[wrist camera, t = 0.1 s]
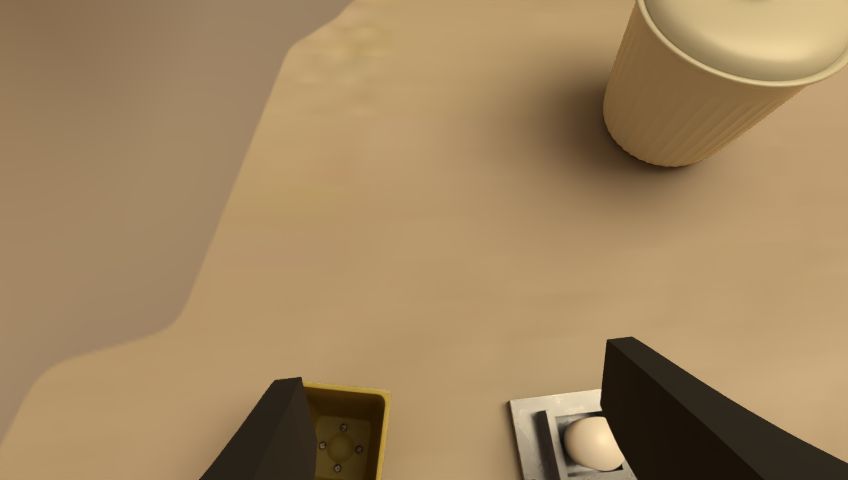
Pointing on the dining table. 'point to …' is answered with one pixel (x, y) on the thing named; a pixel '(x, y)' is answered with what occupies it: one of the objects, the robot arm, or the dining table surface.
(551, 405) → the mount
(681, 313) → the dining table surface
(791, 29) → the canister
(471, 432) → the dining table surface
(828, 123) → the dining table surface
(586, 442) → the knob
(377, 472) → the flower pot
